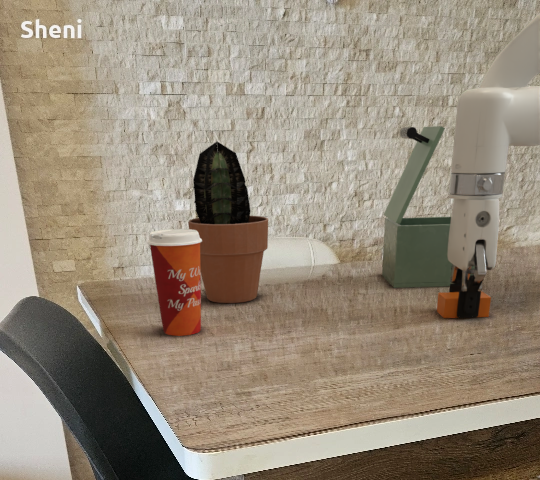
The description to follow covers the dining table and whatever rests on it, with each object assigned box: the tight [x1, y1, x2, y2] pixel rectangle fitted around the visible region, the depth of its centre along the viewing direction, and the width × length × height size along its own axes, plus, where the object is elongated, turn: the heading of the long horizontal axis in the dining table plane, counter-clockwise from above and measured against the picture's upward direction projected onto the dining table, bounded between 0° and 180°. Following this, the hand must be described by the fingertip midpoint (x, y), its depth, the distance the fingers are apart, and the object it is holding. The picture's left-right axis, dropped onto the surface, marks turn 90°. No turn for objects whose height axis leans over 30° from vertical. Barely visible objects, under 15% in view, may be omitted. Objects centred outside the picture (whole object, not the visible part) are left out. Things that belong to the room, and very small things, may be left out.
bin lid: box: [383, 125, 446, 224], centre depth 120 cm, size 16×13×5 cm
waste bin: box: [381, 216, 475, 289], centre depth 126 cm, size 16×13×11 cm
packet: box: [436, 291, 492, 319], centre depth 104 cm, size 7×4×3 cm, turn 91°
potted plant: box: [187, 141, 269, 304], centre depth 113 cm, size 14×14×25 cm
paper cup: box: [146, 228, 202, 337], centre depth 96 cm, size 8×8×14 cm
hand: (462, 311), depth 104 cm, fingers closed on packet, 4 cm apart
